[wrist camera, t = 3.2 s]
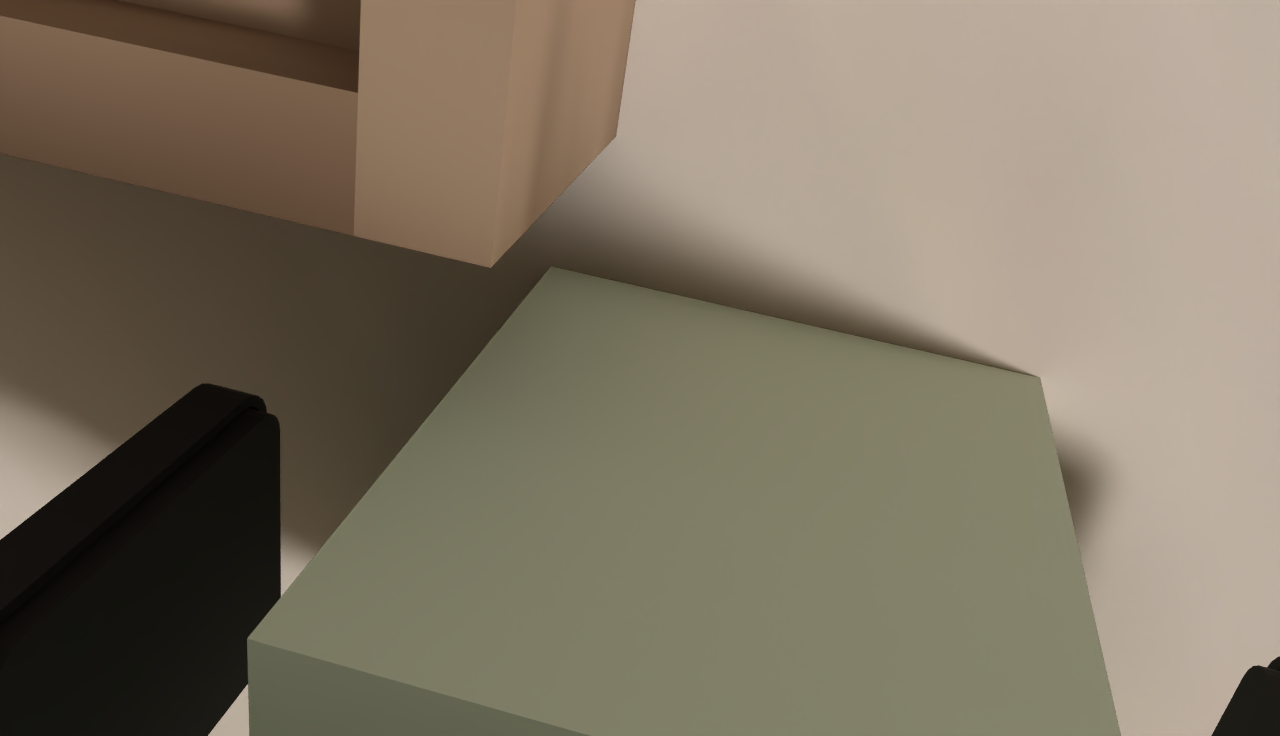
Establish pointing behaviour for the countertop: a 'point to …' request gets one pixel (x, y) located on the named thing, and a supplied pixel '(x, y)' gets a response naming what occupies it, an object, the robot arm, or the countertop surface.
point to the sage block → (698, 545)
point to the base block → (325, 106)
